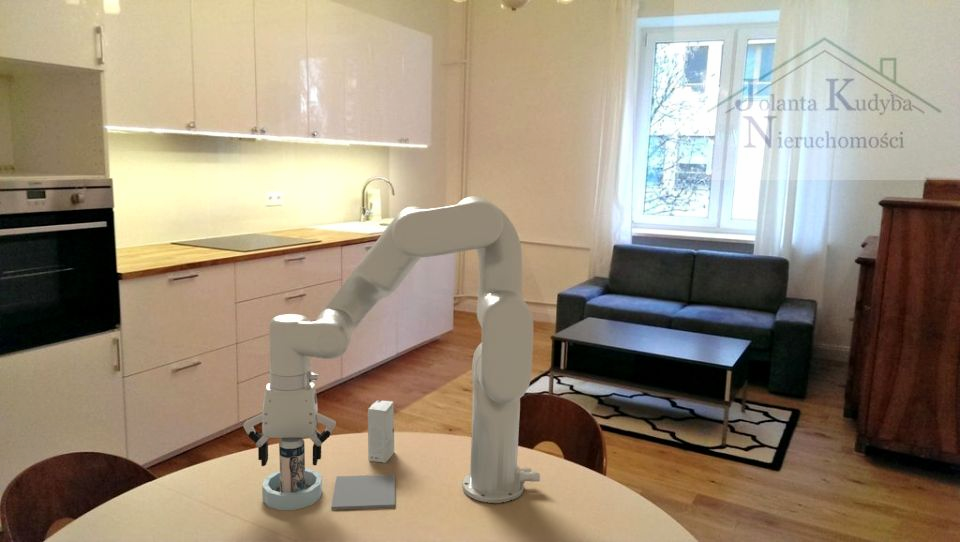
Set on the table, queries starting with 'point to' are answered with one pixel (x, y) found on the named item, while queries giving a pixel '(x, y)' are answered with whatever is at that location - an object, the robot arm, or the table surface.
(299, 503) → the light blue ring
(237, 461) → the table surface
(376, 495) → the mat
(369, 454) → the skincare box
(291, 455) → the beer can
